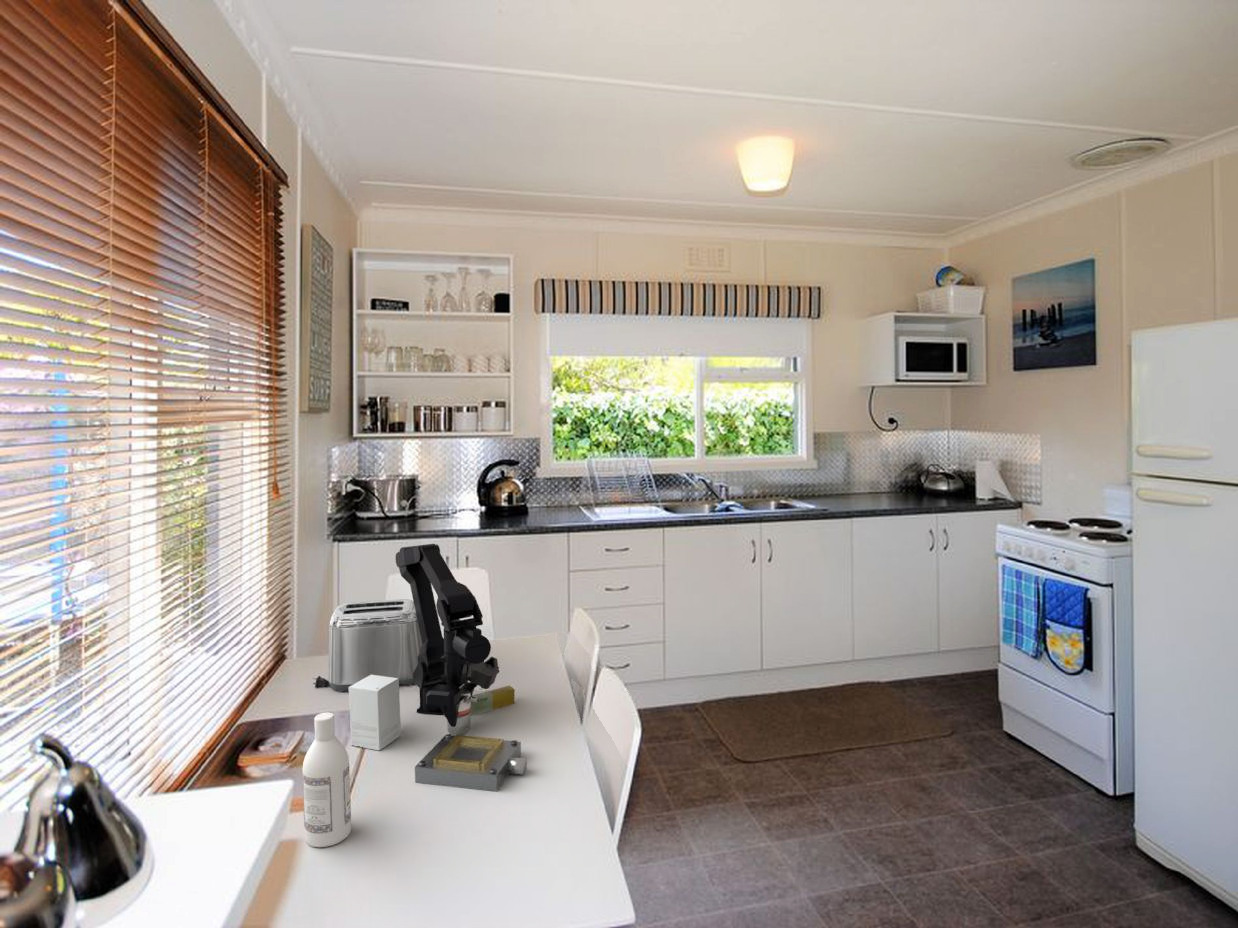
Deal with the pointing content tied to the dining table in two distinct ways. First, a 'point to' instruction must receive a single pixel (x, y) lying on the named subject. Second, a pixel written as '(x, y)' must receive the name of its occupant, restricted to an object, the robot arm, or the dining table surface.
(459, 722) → the spout can
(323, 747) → the bath foam
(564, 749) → the dining table surface
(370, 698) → the supplement box
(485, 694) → the medication box
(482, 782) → the grey fixture base
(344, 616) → the toaster
